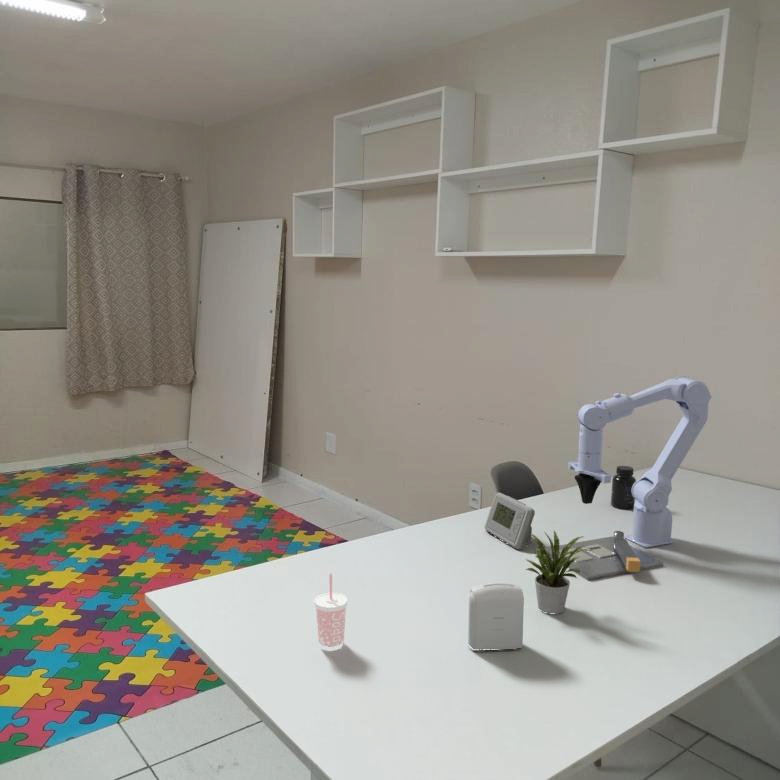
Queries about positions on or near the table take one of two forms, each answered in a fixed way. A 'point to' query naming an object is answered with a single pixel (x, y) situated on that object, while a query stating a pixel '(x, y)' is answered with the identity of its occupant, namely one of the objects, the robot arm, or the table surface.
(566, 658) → the table surface
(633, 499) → the supplement bottle
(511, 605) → the photo printer
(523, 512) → the digital clock
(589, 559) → the grey lever board
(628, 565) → the swing bar
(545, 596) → the house plant
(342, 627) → the beverage cup
